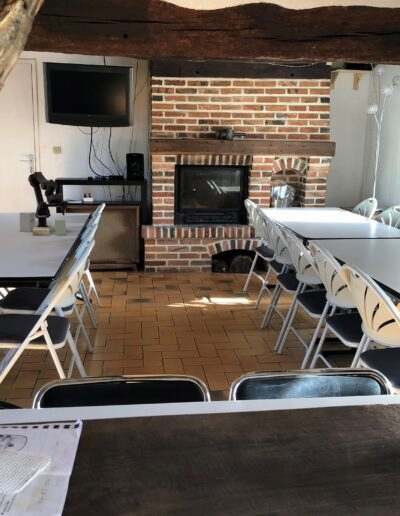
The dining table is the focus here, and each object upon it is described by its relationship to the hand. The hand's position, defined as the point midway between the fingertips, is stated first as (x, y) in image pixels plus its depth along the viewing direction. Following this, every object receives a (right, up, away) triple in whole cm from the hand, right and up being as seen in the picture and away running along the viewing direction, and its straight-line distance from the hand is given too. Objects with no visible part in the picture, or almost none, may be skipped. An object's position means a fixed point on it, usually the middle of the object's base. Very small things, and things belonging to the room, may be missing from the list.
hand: (57, 215), depth 350 cm
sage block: (+3, -12, -2) cm, 13 cm away
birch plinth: (-9, -13, -3) cm, 16 cm away
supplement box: (-21, -10, +7) cm, 24 cm away
